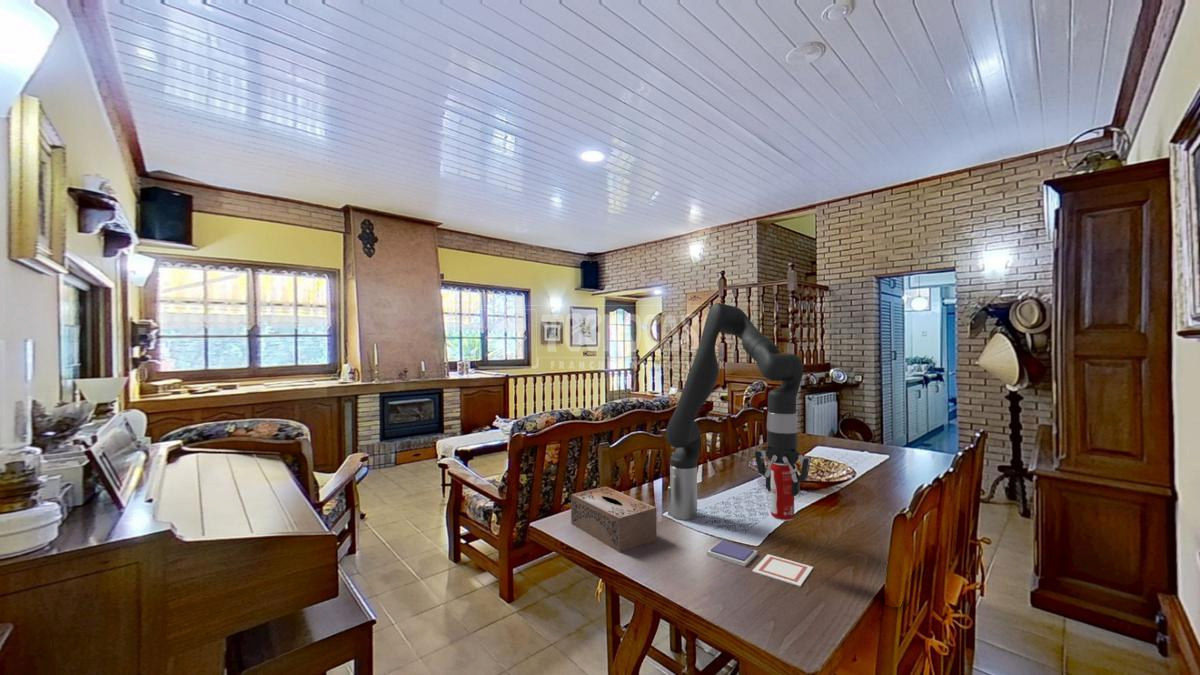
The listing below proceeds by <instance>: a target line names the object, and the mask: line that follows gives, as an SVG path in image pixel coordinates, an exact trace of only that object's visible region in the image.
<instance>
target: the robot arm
mask: <svg viewBox="0 0 1200 675" xmlns="http://www.w3.org/2000/svg"><path fill="white" fill-rule="evenodd" d="M720 333H721V334H725V335H732V336H734V337H737V338H739V339H740V340H741V345H742V348H743V351H745V352H746V354H747V355H749V357H751V359H753V360H754V361H755V363H756V365H757V367H758V369H759V372H760V374H761V375H762V377H763V378H765V379H767V380H769V381H774V382H776V381H777V382H778V381H782V382H780V383H781V384H780V386H779V387H776V388H775V389H771V390H770V391H768V394H767V416H766V417H767V418H766V446H767V447H766V449H765V450H762V449H758V450H756V451H755V453H754V454H755V460H756V465H757V466H756V467H757V471H758V474H760V475H764V477H765V488H766V489H767V491H768V492H770V493H771V479H770V466H771V464H772V462H773V463H776V462H777V463H779V462H780V463H783V464H785V465H789V468H790V473H791V474H792V480H793V482H792V496H794V497H797V495H799V494H800V491H801V489H800V487H801V486H800V482H805V480H807V479H808V476H809V471H810V466H811V460H812V459H811V457H810V456H803V455H800V454H799V451H798V448H799V446H798V443H799V442H798V417H797V395H798V393H799V389H800V385H801V382H802V379H803V375H804V364H803V362H802V359H801V357H800V356H798V355H797V354H794V353H779V352H780V351H779V348H778V346H777V345H776V344H775V343H774V342H773V341H772V340H771V339H769V338H768V337H767V336H766V335H764V334H763V333H762V332H761V331H760V330H759V329H758V328H757V327H756V326H755V325H754V323H753V322H752V321H751V319H750V318H749V317H748V316H747V314H746V313H745V312H744V311H743V310H742V309H741V308H739V307H737V306H733V305H730V304H725V303H721V302H715V303H714V304H713V305H712V306H711V307H710V309H709V311H708V313H707V316H706V318H705V322H704V326H703V330H702V334H701V338H700V341H699V344H698V347H697V351H696V353H695V356H694V359H693V361H692V364H691V367H690V369H689V371H688V375H687V378H686V381H685V383H684V387H683V388H682V392H681V394H680V397H679V399H678V403H677V405H676V408H675V410H674V412H673V413H672V416H671V418H670V420H669V422H668V424H667V426H666V429H665V438H666V441H667V443H668V444H669V445H670V446H671V447H673V448H674V451H673V453H672V454H671V456H670V458H669V473H670V474H669V478H670V480H669V486H668V487H667V515H668V516H669V515H670V516H671V517H672V518H673V519H677V520H683V521H684V520H685V521H688V520H694V519H696V518H698V460H699V458H700V446H701V433H700V432H701V431H700V428H699V425H698V423H697V422H696V421H695V418H696V415H697V414H698V412H699V410H700V409H701V407H702V406H703V405H704V404H705V402H707V400H708V398H709V397H710V395H711V394H712V393H713V391H714V388H715V385H716V382H717V380H718V377H719V373H720V371H719V363H718V359H717V358H718V357H717V355H716V354H717V353H716V343H717V340H718V337H719V334H720ZM766 457H767V459H768V461H769V464H768V466H767V468H766V463H765V458H766ZM797 461H799V463H800V465H801V470H800V471H801V472H800V474H799V471H798V468H797V465H796V463H797ZM792 466H793V468H794V469H793V468H792Z"/></svg>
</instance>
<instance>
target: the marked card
mask: <svg viewBox="0 0 1200 675" xmlns="http://www.w3.org/2000/svg"><path fill="white" fill-rule="evenodd" d="M813 569H814V566H812V565H811V566H810V565H808V564H804V563H800V562H797V561H794V560H790V559H786V558H782V557H779V556H776V555H772V554H769V553H767V554H766V555H765V556H764V557H763V558H762V559H761V561H759V563H758V564H757V565H756V566H755V567H754V568H753V569H752V570H751V572H752V573H755V574H757V575H761V576H763V577H768V578H770V579H774V580H777V581H781V582H784V583H787V584H790V585H793V586H795V587H800V588H801V587H802V585H803V584H804V582H805V581H806V579H807V578H808V577H809V575H810V574H811V572H812V571H813Z"/></svg>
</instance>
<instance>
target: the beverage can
mask: <svg viewBox="0 0 1200 675" xmlns="http://www.w3.org/2000/svg"><path fill="white" fill-rule="evenodd" d="M792 468H793V466H792ZM793 469H794V468H793ZM770 479H771V492H770V513H771V514H770V515H771V516H772V518H774V519H775V520H779V521H783V522H789V521H793V519H794V518H795V496H792V482H793V480H792V474H791V473H790V468H789V465H785V464H783V463H780V462H779V463H777V462H776V463H773V462H772V464H771V466H770Z"/></svg>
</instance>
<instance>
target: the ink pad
mask: <svg viewBox="0 0 1200 675" xmlns="http://www.w3.org/2000/svg"><path fill="white" fill-rule="evenodd" d="M706 556H709V557H712V558H715V559H719V560H722V561H725V562H728V563H731V564H734V565H739V566H741V567H746V566H747V565H749V564H750V562H751V561H752V560H754V558H755V557H756V556H758V550H755V549H753V548H750V547H746V546H743V545H739V544H735V543H732V542H729V541H725V540H719V541H718V542H717V543H716V544H714V545H713V546H712V547H710V548H709V549H708V550H707V552H706Z"/></svg>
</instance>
